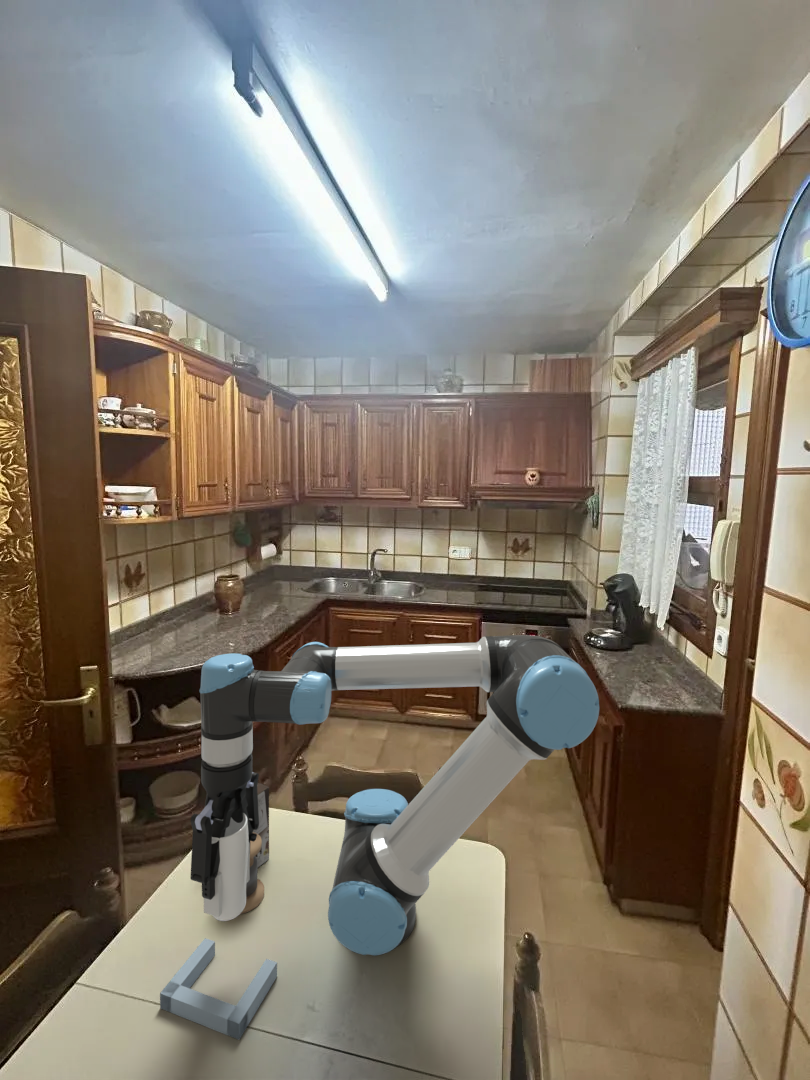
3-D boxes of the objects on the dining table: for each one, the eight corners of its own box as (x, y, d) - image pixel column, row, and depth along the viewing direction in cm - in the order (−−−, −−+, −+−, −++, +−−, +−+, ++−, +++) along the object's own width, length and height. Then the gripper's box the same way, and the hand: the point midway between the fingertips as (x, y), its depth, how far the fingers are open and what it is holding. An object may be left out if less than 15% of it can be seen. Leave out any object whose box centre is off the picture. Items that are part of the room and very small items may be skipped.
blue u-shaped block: (277, 976, 80) (277, 962, 80) (239, 1039, 71) (239, 1023, 71) (205, 951, 85) (205, 938, 84) (160, 1008, 75) (160, 993, 75)
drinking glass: (204, 932, 75) (200, 843, 73) (207, 896, 81) (203, 813, 79) (251, 920, 77) (248, 833, 75) (250, 886, 83) (247, 804, 81)
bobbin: (272, 887, 99) (272, 835, 98) (248, 919, 91) (248, 862, 90) (238, 877, 101) (237, 826, 100) (211, 907, 94) (211, 852, 93)
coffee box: (270, 858, 107) (270, 786, 106) (246, 877, 101) (246, 801, 100) (242, 842, 112) (242, 773, 111) (218, 859, 106) (217, 787, 105)
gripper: (244, 725, 87) (244, 849, 89) (159, 784, 69) (161, 939, 70) (281, 732, 85) (281, 859, 87) (204, 795, 66) (205, 955, 68)
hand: (227, 895), depth 79 cm, fingers closed on drinking glass, 6 cm apart
